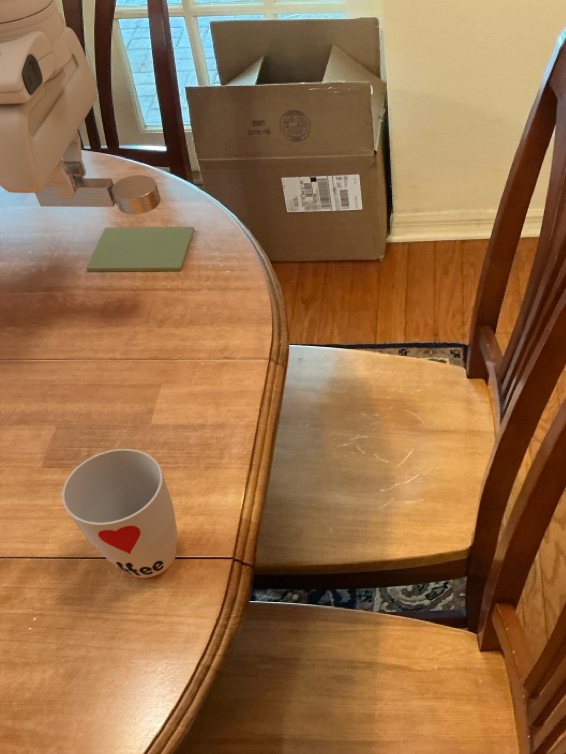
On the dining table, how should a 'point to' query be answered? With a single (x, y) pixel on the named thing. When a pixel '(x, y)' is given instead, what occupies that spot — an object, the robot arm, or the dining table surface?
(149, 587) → the dining table surface
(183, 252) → the placemat
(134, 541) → the cup
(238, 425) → the dining table surface
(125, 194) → the spoon
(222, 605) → the dining table surface
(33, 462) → the dining table surface
